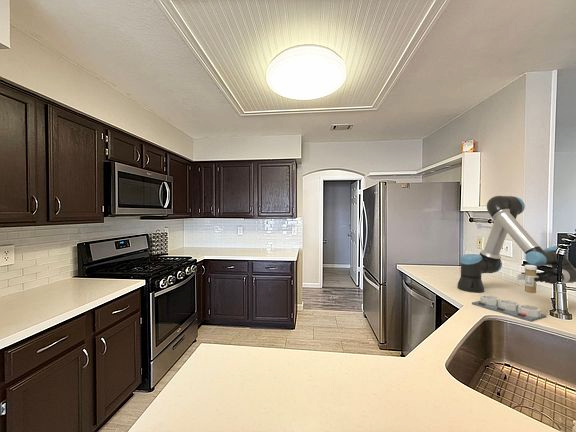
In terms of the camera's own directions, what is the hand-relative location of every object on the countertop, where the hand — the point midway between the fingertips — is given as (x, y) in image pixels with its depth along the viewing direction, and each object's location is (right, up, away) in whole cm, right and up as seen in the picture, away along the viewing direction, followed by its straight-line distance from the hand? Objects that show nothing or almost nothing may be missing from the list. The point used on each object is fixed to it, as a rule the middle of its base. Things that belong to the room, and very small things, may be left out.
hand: (522, 278), depth 136 cm
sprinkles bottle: (+5, -8, +2) cm, 9 cm away
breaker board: (-1, -19, +9) cm, 21 cm away
